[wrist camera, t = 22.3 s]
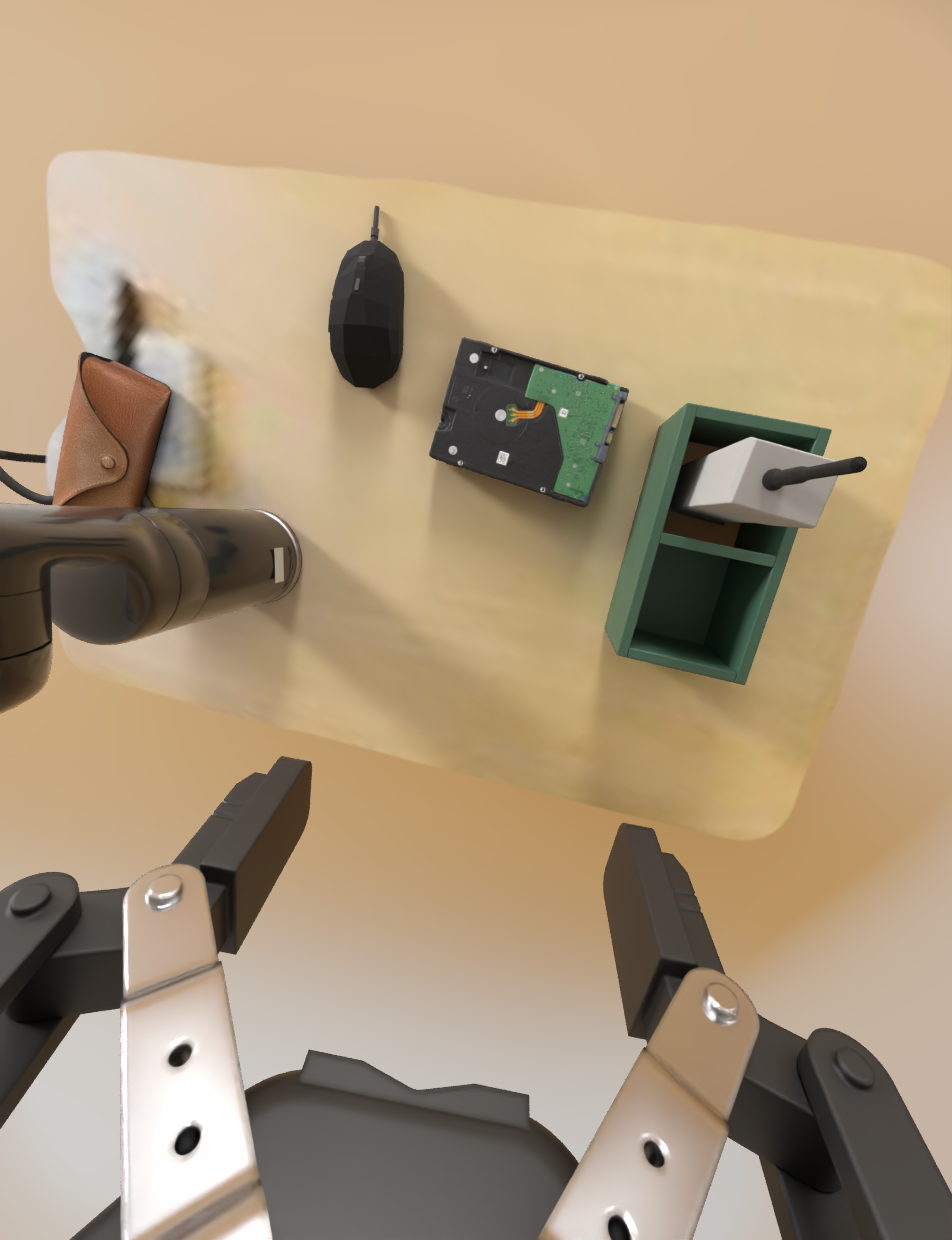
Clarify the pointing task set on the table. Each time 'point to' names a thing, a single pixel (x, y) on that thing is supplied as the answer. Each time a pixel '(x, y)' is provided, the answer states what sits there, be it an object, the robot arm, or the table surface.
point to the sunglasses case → (110, 435)
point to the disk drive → (527, 422)
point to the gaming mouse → (368, 313)
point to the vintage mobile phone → (759, 484)
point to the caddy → (701, 556)
